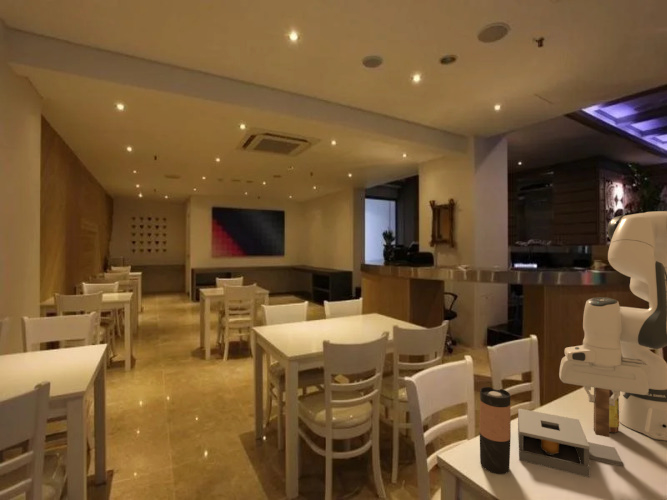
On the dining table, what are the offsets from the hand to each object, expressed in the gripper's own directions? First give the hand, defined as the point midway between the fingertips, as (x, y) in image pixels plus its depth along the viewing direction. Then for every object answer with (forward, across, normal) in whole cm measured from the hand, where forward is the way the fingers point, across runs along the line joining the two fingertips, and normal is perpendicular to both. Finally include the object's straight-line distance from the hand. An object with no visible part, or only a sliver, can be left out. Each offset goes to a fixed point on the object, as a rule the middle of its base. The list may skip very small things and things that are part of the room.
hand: (601, 403), depth 100 cm
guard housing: (+15, +13, +6) cm, 21 cm away
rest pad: (+15, 0, 0) cm, 15 cm away
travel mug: (+15, +27, +20) cm, 37 cm away
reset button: (+14, +13, +6) cm, 20 cm away
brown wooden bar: (+9, 0, 0) cm, 9 cm away
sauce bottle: (+15, -5, -19) cm, 25 cm away
